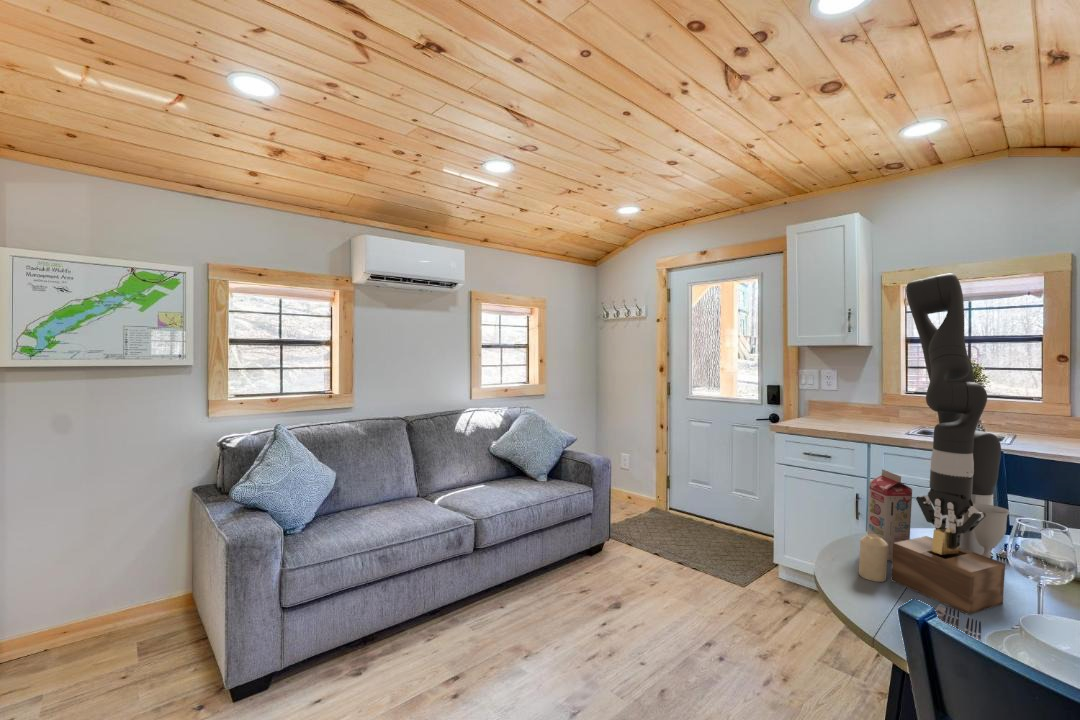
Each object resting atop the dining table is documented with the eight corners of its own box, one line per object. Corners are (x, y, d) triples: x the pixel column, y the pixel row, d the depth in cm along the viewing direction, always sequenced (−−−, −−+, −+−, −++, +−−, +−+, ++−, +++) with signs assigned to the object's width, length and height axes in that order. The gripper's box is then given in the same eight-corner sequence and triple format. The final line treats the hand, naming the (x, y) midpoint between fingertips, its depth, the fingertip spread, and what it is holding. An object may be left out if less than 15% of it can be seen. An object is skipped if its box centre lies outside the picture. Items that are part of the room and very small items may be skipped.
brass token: (933, 529, 116) (950, 528, 119) (931, 551, 117) (948, 549, 119) (943, 532, 115) (960, 531, 117) (941, 554, 115) (958, 553, 117)
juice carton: (890, 549, 140) (894, 469, 139) (908, 560, 133) (912, 476, 132) (866, 549, 140) (870, 469, 139) (883, 560, 133) (887, 476, 132)
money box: (924, 572, 127) (926, 536, 127) (1002, 604, 112) (1005, 563, 112) (891, 580, 123) (893, 542, 122) (968, 614, 108) (970, 572, 107)
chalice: (996, 580, 123) (1001, 505, 122) (1011, 593, 117) (1016, 515, 116) (959, 575, 126) (963, 502, 125) (972, 587, 119) (977, 511, 118)
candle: (890, 583, 121) (892, 541, 120) (864, 580, 122) (866, 539, 122) (880, 572, 126) (882, 532, 126) (855, 570, 128) (857, 530, 127)
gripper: (908, 464, 121) (904, 537, 122) (976, 480, 108) (971, 561, 109) (929, 461, 124) (925, 533, 125) (998, 477, 111) (993, 556, 112)
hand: (947, 546), depth 117 cm, fingers closed on brass token, 1 cm apart
